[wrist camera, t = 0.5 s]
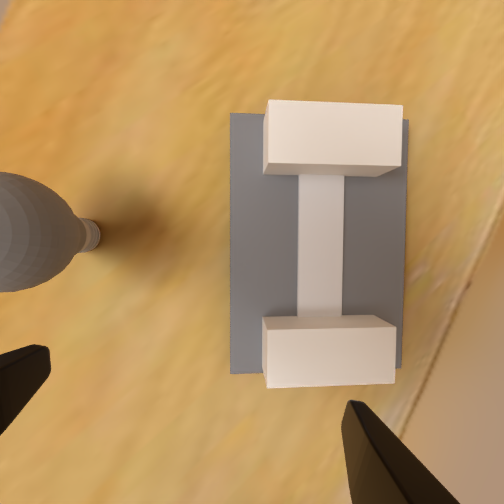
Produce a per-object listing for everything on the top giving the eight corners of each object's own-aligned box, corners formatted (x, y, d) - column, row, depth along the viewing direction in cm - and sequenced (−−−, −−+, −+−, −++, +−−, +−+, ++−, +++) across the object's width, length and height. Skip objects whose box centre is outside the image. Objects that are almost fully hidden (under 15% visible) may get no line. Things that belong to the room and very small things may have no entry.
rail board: (392, 361, 23) (428, 389, 18) (230, 366, 22) (229, 397, 17) (399, 126, 22) (438, 99, 17) (230, 120, 21) (229, 89, 16)
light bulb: (72, 287, 20) (-81, 332, 10) (30, 221, 20) (-173, 202, 10) (140, 249, 21) (53, 258, 11) (99, 182, 20) (-32, 126, 10)
